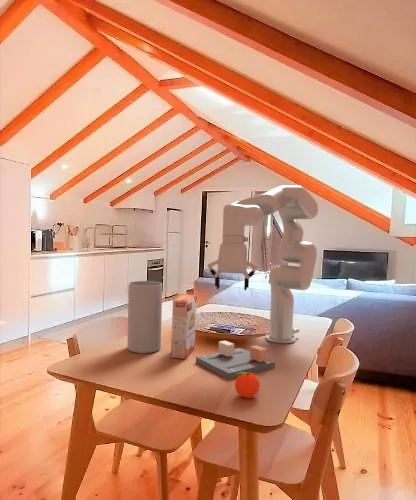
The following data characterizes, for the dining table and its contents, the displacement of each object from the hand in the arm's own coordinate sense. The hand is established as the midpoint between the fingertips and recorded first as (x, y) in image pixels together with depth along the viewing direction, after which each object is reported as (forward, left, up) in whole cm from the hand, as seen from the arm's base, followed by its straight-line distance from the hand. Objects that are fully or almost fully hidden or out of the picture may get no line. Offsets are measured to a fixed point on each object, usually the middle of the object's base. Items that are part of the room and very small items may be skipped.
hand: (231, 289), depth 144 cm
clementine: (+15, +26, -26) cm, 40 cm away
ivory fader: (+1, 0, -23) cm, 23 cm away
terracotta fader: (-5, +10, -23) cm, 25 cm away
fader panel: (+1, +5, -26) cm, 26 cm away
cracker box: (+9, -15, -26) cm, 31 cm away
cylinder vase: (+19, -27, -26) cm, 42 cm away
